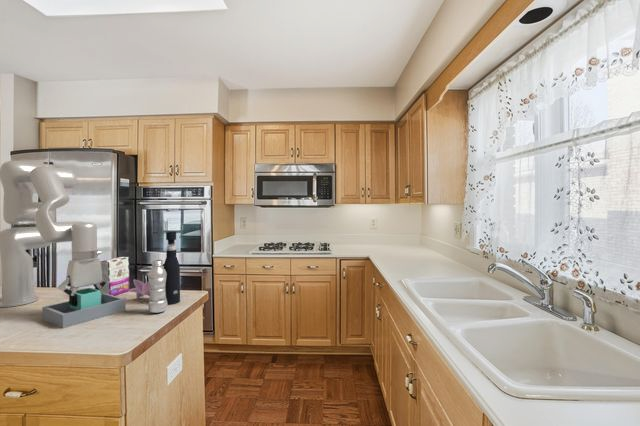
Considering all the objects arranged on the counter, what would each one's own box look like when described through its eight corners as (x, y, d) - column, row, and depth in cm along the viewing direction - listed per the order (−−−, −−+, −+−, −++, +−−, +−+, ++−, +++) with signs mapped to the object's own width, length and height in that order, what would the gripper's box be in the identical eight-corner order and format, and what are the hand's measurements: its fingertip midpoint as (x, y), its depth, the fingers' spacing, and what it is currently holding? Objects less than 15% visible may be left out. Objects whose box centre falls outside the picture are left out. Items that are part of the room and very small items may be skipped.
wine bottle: (168, 299, 131) (167, 231, 130) (183, 300, 131) (182, 231, 130) (160, 304, 125) (159, 232, 124) (175, 304, 125) (174, 232, 124)
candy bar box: (121, 290, 146) (120, 256, 146) (130, 290, 145) (129, 256, 145) (100, 297, 135) (99, 260, 135) (109, 297, 134) (109, 261, 134)
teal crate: (70, 307, 113) (69, 291, 112) (89, 302, 118) (89, 287, 118) (81, 311, 108) (80, 295, 108) (101, 306, 114) (100, 290, 114)
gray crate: (42, 319, 108) (42, 307, 108) (104, 303, 126) (104, 293, 126) (63, 328, 101) (62, 315, 101) (125, 310, 118) (125, 298, 118)
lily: (165, 301, 133) (165, 280, 137) (146, 298, 122) (146, 275, 126) (141, 308, 134) (141, 287, 138) (120, 306, 123) (121, 283, 127)
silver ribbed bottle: (171, 310, 118) (171, 259, 118) (157, 316, 112) (156, 262, 112) (158, 308, 121) (158, 258, 120) (144, 314, 114) (143, 261, 114)
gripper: (105, 251, 122) (105, 295, 123) (51, 258, 107) (52, 307, 107) (115, 253, 119) (115, 298, 119) (60, 260, 103) (61, 311, 104)
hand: (85, 302), depth 113 cm, fingers open, 6 cm apart
